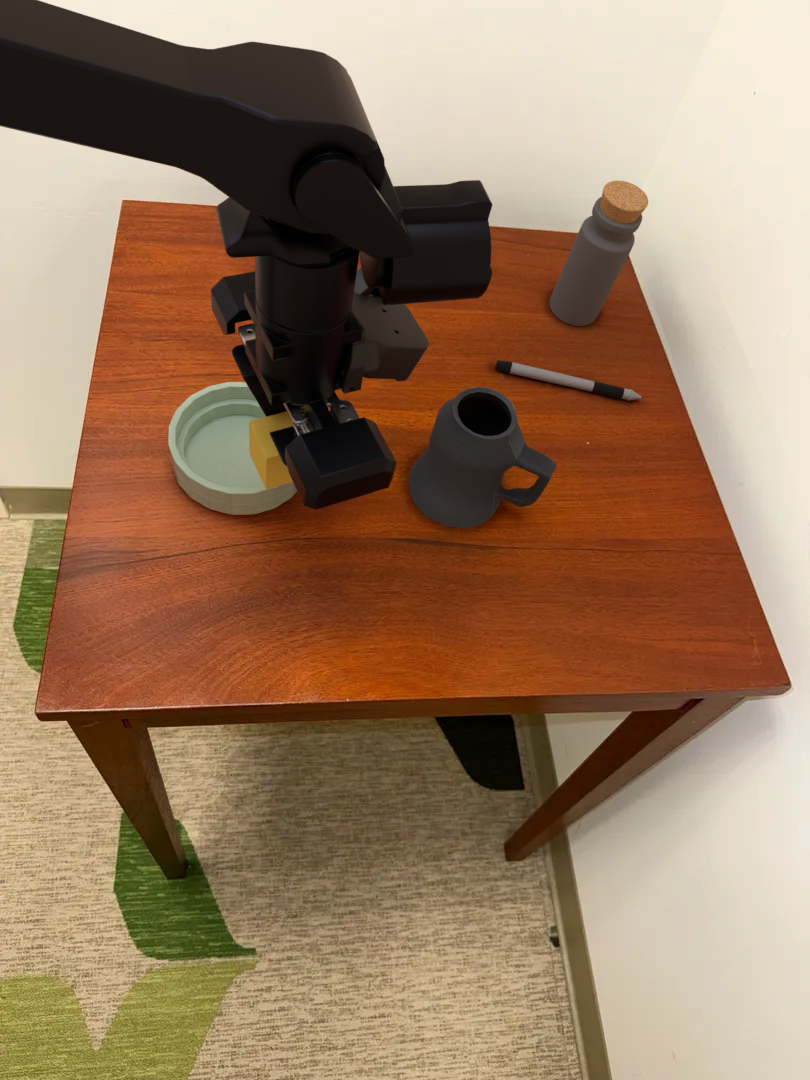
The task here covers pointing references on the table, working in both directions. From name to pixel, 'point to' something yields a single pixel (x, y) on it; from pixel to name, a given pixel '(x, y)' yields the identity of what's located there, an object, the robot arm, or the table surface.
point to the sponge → (268, 449)
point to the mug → (475, 461)
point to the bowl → (221, 451)
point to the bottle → (598, 254)
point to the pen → (566, 380)
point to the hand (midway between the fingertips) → (293, 454)
